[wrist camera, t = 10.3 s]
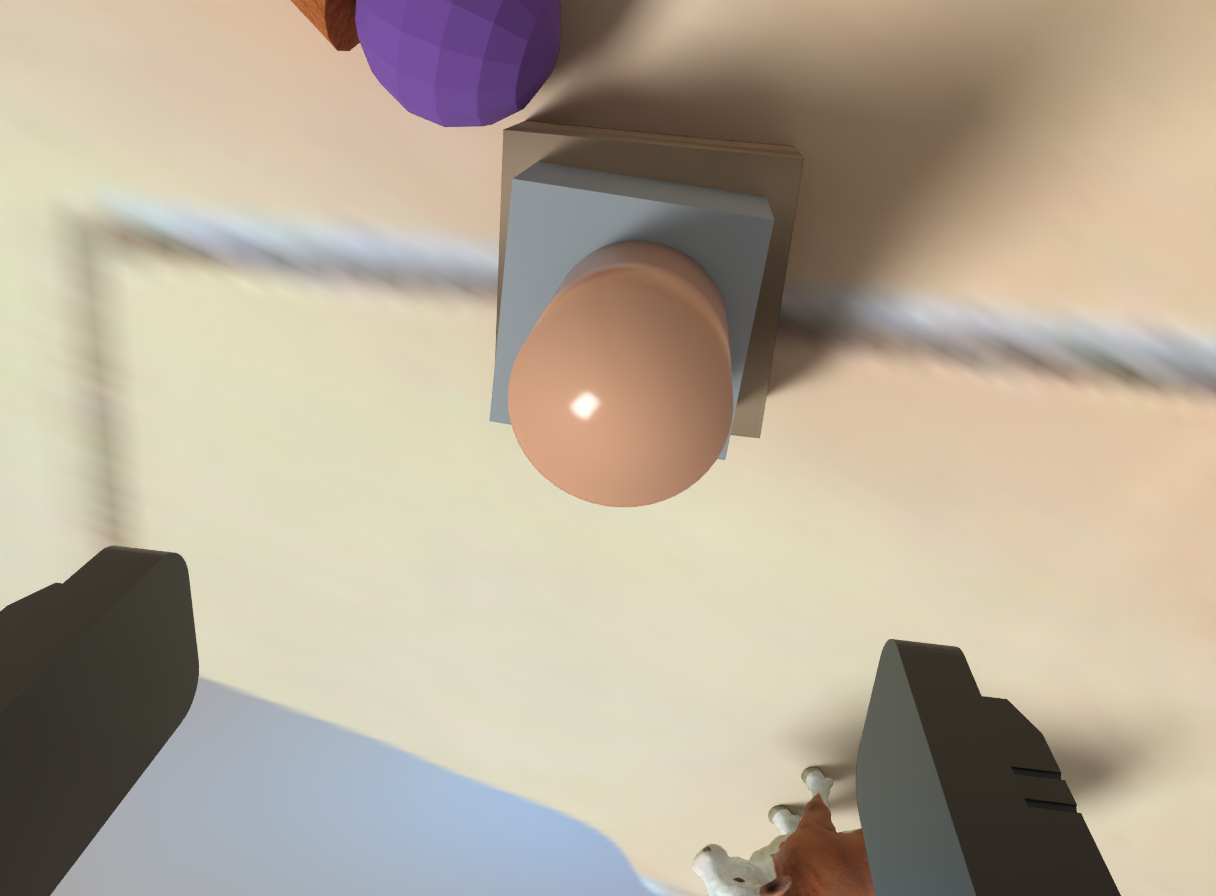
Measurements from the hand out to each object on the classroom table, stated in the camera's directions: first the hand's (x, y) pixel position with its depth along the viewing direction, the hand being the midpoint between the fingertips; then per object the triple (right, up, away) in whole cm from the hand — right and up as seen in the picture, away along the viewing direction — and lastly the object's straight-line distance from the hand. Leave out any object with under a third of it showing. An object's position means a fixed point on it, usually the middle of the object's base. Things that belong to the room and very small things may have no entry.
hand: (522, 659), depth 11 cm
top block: (+2, +7, +19) cm, 21 cm away
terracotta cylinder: (+2, +6, +16) cm, 17 cm away
